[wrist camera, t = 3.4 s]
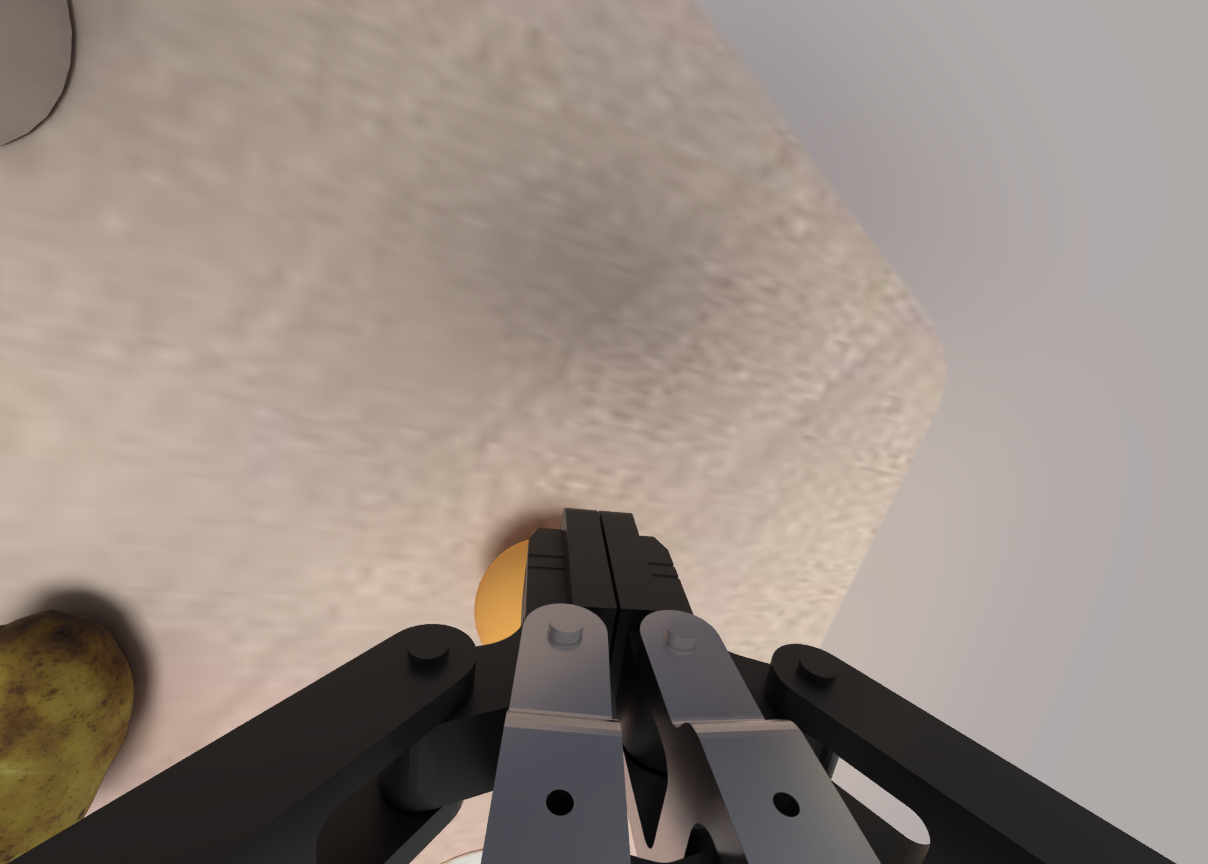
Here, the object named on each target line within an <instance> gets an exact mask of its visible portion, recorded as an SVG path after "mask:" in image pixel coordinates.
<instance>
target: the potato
mask: <svg viewBox="0 0 1208 864" xmlns="http://www.w3.org/2000/svg"><path fill="white" fill-rule="evenodd" d="M133 699H134V685H133V678H132V674H131V670H130V667H129V664H128V662H127V660H126V658H125V657H124V655H123V653H122V651H121V650H120V648H119V646H118V644H117V643H116V641H115V640H114V638H113V637H112V635H111V634H110V632H109V631H108V630H107V629H106V628H104V627H103V626H102V625H100V624H99V623H97V622H95V621H93V620H90V619H88V618H85V617H83V616H80V615H78V614H74V613H69V612H64V611H56V610H48V611H46V612H41V613H37V614H34V615H30V616H27V617H24V618H21V619H18V620H16V621H13V622H11V623H9V624H7V625H1V626H0V864H7V863H9V862H10V861H12V860H14V859H15V858H17V857H19V856H21V855H22V854H24V853H26V852H27V851H29V850H31V849H32V848H34V847H36V846H37V845H39V844H41V843H43V842H44V841H46V840H48V839H49V838H51V837H53V836H54V835H56V834H58V833H59V832H61V831H63V830H65V829H66V828H68V827H70V826H71V825H73V824H75V823H76V822H78V821H80V820H81V819H83V818H84V816H85V814H86V813H87V811H88V809H89V807H90V806H91V804H92V802H93V800H94V797H95V795H96V793H97V791H98V789H99V786H100V784H101V782H102V780H103V778H104V776H105V774H106V772H107V769H108V768H109V766H110V764H111V763H112V761H114V758H115V756H116V754H117V753H118V751H119V749H120V748H121V746H122V743H123V742H124V740H125V738H126V734H127V730H128V726H129V722H130V717H131V712H132V707H133Z"/></svg>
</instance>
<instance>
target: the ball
mask: <svg viewBox="0 0 1208 864" xmlns="http://www.w3.org/2000/svg"><path fill="white" fill-rule="evenodd" d="M528 543H529V539H528V540H525V541H522V542H519V543H517V544H515V545H513V546H511V547H510V548H508V549H507V550H505V551H504V552H502V553H501V554H500V555H499V556H498V557H497V558H496V559H495V560H494V561H493V562H492V563H491V565H490V566H489V567H488V569H487V570H486V572H485V574H484V575H483V577H482V580H481V582H480V584H479V587H478V590H477V594H476V599H475V609H474V611H475V623H476V629H477V632H478V635H479V638H480V640H481V643H482V644H483V645H487V644H491V643H495V642H498V641H501V640H503V639H505V638H507V637H509V636H511V635H512V634H513V633H515V632H516V631H517V630H518V629H519V628H520V626H521V608H522V595H523V586H524V578H525V569H526V560H527V551H528Z"/></svg>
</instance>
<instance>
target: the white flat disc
mask: <svg viewBox="0 0 1208 864" xmlns="http://www.w3.org/2000/svg"><path fill="white" fill-rule="evenodd" d="M482 852H483V850H479V851H475V852H471V853H467V854H464V855H461V856H459V857H456V858H453V859H451V860H449V861H447V862H445V863H443V864H481V858H482Z"/></svg>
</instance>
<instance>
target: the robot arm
mask: <svg viewBox="0 0 1208 864" xmlns="http://www.w3.org/2000/svg"><path fill="white" fill-rule="evenodd" d="M71 44H72V29H71V22H70V16H69V10H68V3H67V0H0V145H4V144H6V143H8V142H10V141H12V140H14V139H16V138H18V137H21V136H23V135H25V134H27V133H28V132H30V131H31V130H32V129H33V128H34V127H35V126H36V125H37V124H39V123H40V122H41V121H42V120H43V119H44V118H45V117H47V116H48V114H49V113H50V111H51V109H52V108H53V106H54V105H55V103H56V101H57V100H58V98H59V97H60V95H61V93H62V91H63V88H64V84H65V81H66V78H67V74H68V71H69V68H70V64H71ZM612 719H613V720H612ZM839 757H840V758H842V759H843V760H844V761H846V762H847V763H849V764H850V765H851V766H853V767H854V768H855V769H857V770H858V771H860V772H861V773H862V774H864V775H865V776H866V777H868V778H869V779H871V780H872V781H873V782H875V783H876V784H878V785H879V786H880V787H882V788H883V789H884V790H886V791H887V792H889V793H890V794H891V795H893V796H894V797H895V798H897V799H898V800H900V801H901V802H902V803H904V804H905V805H906V806H908V807H909V808H910V809H912V810H913V811H914V812H915V813H916V814H917V815H918V816H919V817H920V818H921V820H922V821H923V823H924V824H925V826H926V828H927V830H928V832H929V835H930V844H927V845H924V844H918V843H916V842H913V841H911V840H910V839H908V838H906V837H905V836H904V835H903V834H901V833H900V832H899V831H897V830H896V829H894V828H893V827H892V826H891V825H889V824H888V823H887V822H885V821H884V820H883V819H881V818H880V817H879V816H878V815H876V814H875V813H874V812H872V811H871V810H870V809H868V808H867V807H866V806H864V805H863V804H862V803H860V802H859V801H858V800H856V799H855V798H854V797H853V796H851V795H850V794H849V793H847V792H846V791H845V790H843V789H842V788H841V787H839V786H838V785H837V784H835V783H834V782H833V781H831V778H832V775H833V772H834V770H835V767H836V764H837V761H838V758H839ZM491 791H493V794H492V800H491V806H490V812H489V817H488V823H487V829H486V835H485V841H484V847H483V852H482V858H481V864H1175V863H1174V862H1172V861H1171V860H1169V859H1168V858H1166V857H1164V856H1163V855H1161V854H1159V853H1158V852H1156V851H1154V850H1153V849H1151V848H1149V847H1148V846H1146V845H1145V844H1143V843H1141V842H1140V841H1138V840H1136V839H1135V838H1133V837H1131V836H1130V835H1128V834H1126V833H1125V832H1123V831H1121V830H1120V829H1118V828H1117V827H1115V826H1113V825H1112V824H1110V823H1108V822H1107V821H1105V820H1103V819H1102V818H1100V817H1098V816H1097V815H1095V814H1093V813H1092V812H1090V811H1089V810H1087V809H1085V808H1084V807H1082V806H1080V805H1079V804H1077V803H1075V802H1074V801H1072V800H1070V799H1069V798H1067V797H1066V796H1064V795H1062V794H1061V793H1059V792H1057V791H1056V790H1054V789H1052V788H1051V787H1049V786H1047V785H1046V784H1044V783H1042V782H1041V781H1039V780H1038V779H1036V778H1034V777H1032V776H1031V775H1029V774H1028V773H1026V772H1024V771H1023V770H1021V769H1019V768H1018V767H1016V766H1014V765H1013V764H1011V763H1010V762H1008V761H1006V760H1005V759H1003V758H1001V757H1000V756H998V755H996V754H995V753H993V752H991V751H990V750H988V749H986V748H985V747H983V746H982V745H980V744H978V743H976V742H975V741H973V740H972V739H970V738H968V737H967V736H965V735H963V734H962V733H960V732H958V731H957V730H955V729H954V728H952V727H950V726H949V725H947V724H945V723H944V722H942V721H940V720H939V719H937V718H935V717H934V716H932V715H930V714H929V713H927V712H926V711H924V710H922V709H921V708H919V707H917V706H916V705H914V704H912V703H911V702H909V701H908V700H906V699H904V698H902V697H901V696H899V695H898V694H896V693H894V692H892V691H891V690H889V689H888V688H886V687H884V686H883V685H881V684H880V683H878V682H876V681H875V680H873V679H871V678H869V677H868V676H866V675H865V674H863V673H861V672H860V671H858V670H856V669H855V668H853V667H851V666H850V665H848V664H847V663H845V662H843V661H841V660H840V659H838V658H836V657H835V656H833V655H831V654H830V653H828V652H826V651H823V650H821V649H818V648H815V647H812V646H808V645H802V644H789V645H784V646H781V647H780V648H778V649H777V650H776V651H775V652H774V654H773V656H772V660H771V663H770V664H768V663H764V662H761V661H757V660H754V659H750V658H746V657H743V656H740V655H737V654H734V653H731V652H729V651H727V649H726V647H725V645H724V643H723V642H722V640H721V638H720V636H719V634H718V633H717V631H716V630H715V629H714V628H713V627H712V626H711V625H710V624H708V623H707V622H706V621H704V620H703V619H701V618H699V617H697V616H695V615H693V612H692V610H691V607H690V605H689V602H688V600H687V597H686V595H685V592H684V590H683V587H682V584H681V582H680V579H678V574H677V572H676V569H675V567H673V562H672V559H671V557H670V554H669V552H668V550H667V549H666V548H665V547H664V546H663V545H662V544H661V543H660V542H659V541H658V540H657V539H656V538H654V537H649V536H639V533H638V530H637V527H636V524H635V521H634V518H633V515H632V513H622V512H610V511H599V512H598V511H597V510H584V509H572V508H564V511H563V516H562V523H561V530H557V529H544V528H539V529H538V530H537V531H536V532H535V533H534V534H533V536H532V537H531V538H530V539H529V543H528V551H527V560H526V569H525V578H524V586H523V595H522V608H521V626H520V628H519V629H518V630H517V631H516V632H515V633H513V634H512V635H511V636H509V637H507V638H505V639H503V640H501V641H498V642H495V643H491V644H487V645H482V646H476V647H475V644H474V642H473V640H472V639H471V638H470V637H469V636H468V635H467V634H465V633H464V632H463V631H461V630H459V629H457V628H454V627H451V626H447V625H440V624H425V625H418V626H414V627H410V628H407V629H405V630H402V631H400V632H398V633H397V634H395V635H393V636H391V637H390V638H388V639H386V640H385V641H383V642H381V643H380V644H378V645H376V646H375V647H373V648H371V649H369V650H368V651H366V652H364V653H363V654H361V655H359V656H358V657H356V658H354V659H352V660H351V661H349V662H347V663H346V664H344V665H342V666H341V667H339V668H337V669H336V670H334V671H332V672H330V673H329V674H327V675H325V676H324V677H322V678H320V679H319V680H317V681H315V682H314V683H312V684H310V685H308V686H307V687H305V688H303V689H302V690H300V691H298V692H297V693H295V694H293V695H292V696H290V697H288V698H286V699H285V700H283V701H281V702H280V703H278V704H276V705H275V706H273V707H271V708H269V709H268V710H266V711H264V712H263V713H261V714H259V715H258V716H256V717H254V718H253V719H251V720H249V721H247V722H246V723H244V724H242V725H241V726H239V727H237V728H236V729H234V730H232V731H231V732H229V733H227V734H225V735H224V736H222V737H220V738H219V739H217V740H215V741H214V742H212V743H210V744H209V745H207V746H205V747H203V748H202V749H200V750H198V751H197V752H195V753H193V754H192V755H190V756H188V757H186V758H185V759H183V760H181V761H180V762H178V763H176V764H175V765H173V766H171V767H170V768H168V769H166V770H164V771H163V772H161V773H159V774H158V775H156V776H154V777H153V778H151V779H149V780H148V781H146V782H144V783H142V784H141V785H139V786H137V787H136V788H134V789H132V790H131V791H129V792H127V793H126V794H124V795H122V796H120V797H119V798H117V799H115V800H114V801H112V802H110V803H109V804H107V805H105V806H104V807H102V808H100V809H98V810H97V811H95V812H93V813H92V814H90V815H88V816H87V817H85V818H83V819H81V820H80V821H78V822H76V823H75V824H73V825H71V826H70V827H68V828H66V829H65V830H63V831H61V832H59V833H58V834H56V835H54V836H53V837H51V838H49V839H48V840H46V841H44V842H43V843H41V844H39V845H37V846H36V847H34V848H32V849H31V850H29V851H27V852H26V853H24V854H22V855H21V856H19V857H17V858H15V859H14V860H12V861H10V862H9V863H7V864H409V863H410V862H411V861H412V860H413V859H414V858H415V857H416V856H417V855H418V854H419V853H420V852H421V851H422V850H423V849H424V848H425V847H426V846H427V845H428V844H429V843H430V842H431V841H432V840H433V839H434V838H435V837H436V836H437V835H438V834H439V833H440V832H441V831H442V830H443V829H444V828H445V827H446V826H447V825H448V824H449V823H450V822H451V821H452V819H453V818H454V817H455V816H456V815H457V813H458V811H459V810H460V808H461V805H462V803H463V800H465V799H468V798H471V797H475V796H478V795H481V794H484V793H487V792H491ZM627 813H628V817H629V822H630V826H631V831H632V835H633V840H634V844H635V849H636V853H637V857H636V856H632V855H630V846H629V831H628V817H627Z"/></svg>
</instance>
